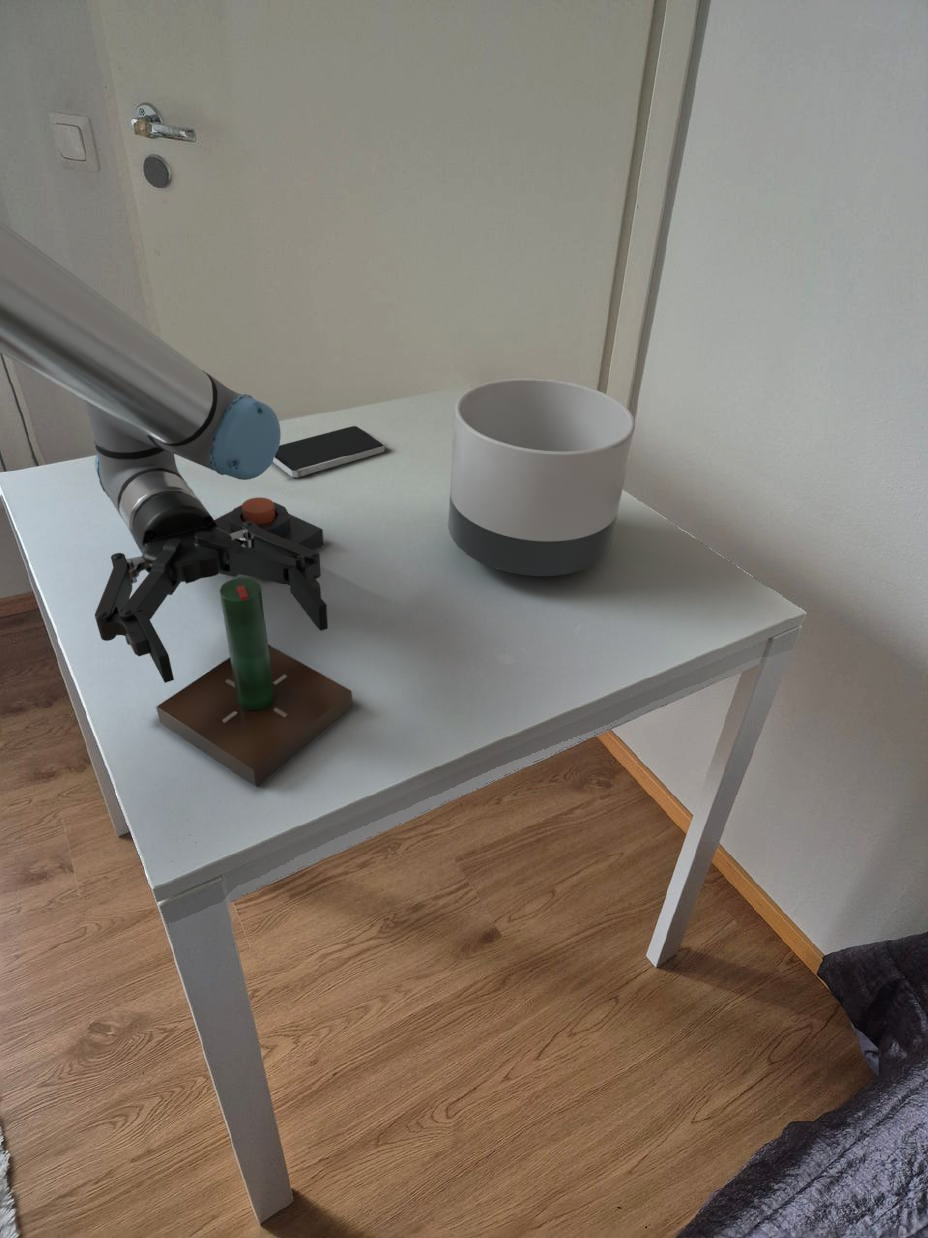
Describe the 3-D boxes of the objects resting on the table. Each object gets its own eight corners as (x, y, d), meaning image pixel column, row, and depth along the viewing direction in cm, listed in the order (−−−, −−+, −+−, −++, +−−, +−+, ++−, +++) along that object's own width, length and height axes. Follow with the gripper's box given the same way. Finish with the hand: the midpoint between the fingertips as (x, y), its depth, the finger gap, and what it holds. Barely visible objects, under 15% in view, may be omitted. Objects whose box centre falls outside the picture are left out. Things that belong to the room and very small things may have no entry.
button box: (200, 544, 93) (195, 514, 91) (257, 513, 99) (254, 485, 97) (268, 578, 89) (264, 548, 86) (323, 544, 95) (321, 515, 92)
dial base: (159, 723, 71) (155, 705, 69) (259, 653, 79) (257, 636, 77) (256, 787, 66) (253, 769, 64) (352, 706, 74) (351, 689, 72)
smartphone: (386, 445, 114) (294, 471, 106) (386, 452, 115) (294, 480, 106) (354, 424, 118) (263, 448, 110) (354, 432, 119) (264, 456, 111)
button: (236, 519, 91) (234, 505, 90) (259, 506, 94) (258, 493, 93) (259, 530, 90) (257, 516, 89) (282, 517, 92) (280, 504, 91)
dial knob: (233, 690, 72) (215, 578, 64) (269, 682, 73) (255, 571, 65) (241, 714, 69) (223, 601, 62) (278, 705, 70) (264, 593, 63)
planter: (496, 615, 86) (512, 466, 75) (420, 527, 99) (424, 389, 88) (640, 575, 93) (673, 435, 82) (551, 498, 107) (570, 368, 96)
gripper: (289, 525, 88) (381, 631, 75) (46, 589, 77) (102, 727, 63) (283, 464, 84) (380, 565, 70) (24, 521, 72) (79, 656, 59)
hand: (248, 642), depth 67 cm, fingers open, 13 cm apart
